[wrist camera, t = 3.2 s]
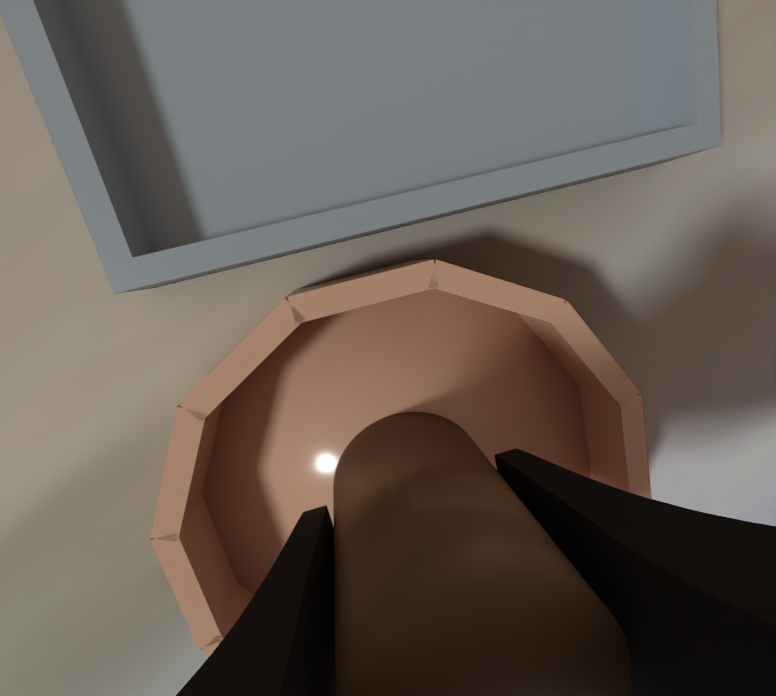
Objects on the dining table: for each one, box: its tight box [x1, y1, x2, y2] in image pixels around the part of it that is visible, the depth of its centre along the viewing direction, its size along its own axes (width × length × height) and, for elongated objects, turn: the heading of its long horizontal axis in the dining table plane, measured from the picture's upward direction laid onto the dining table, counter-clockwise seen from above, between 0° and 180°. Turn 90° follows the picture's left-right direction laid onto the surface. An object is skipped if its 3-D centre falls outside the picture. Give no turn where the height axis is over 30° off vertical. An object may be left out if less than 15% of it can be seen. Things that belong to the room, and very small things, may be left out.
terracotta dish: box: [150, 260, 652, 656], centre depth 11 cm, size 12×12×2 cm
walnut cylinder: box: [333, 411, 631, 696], centre depth 9 cm, size 4×4×6 cm
